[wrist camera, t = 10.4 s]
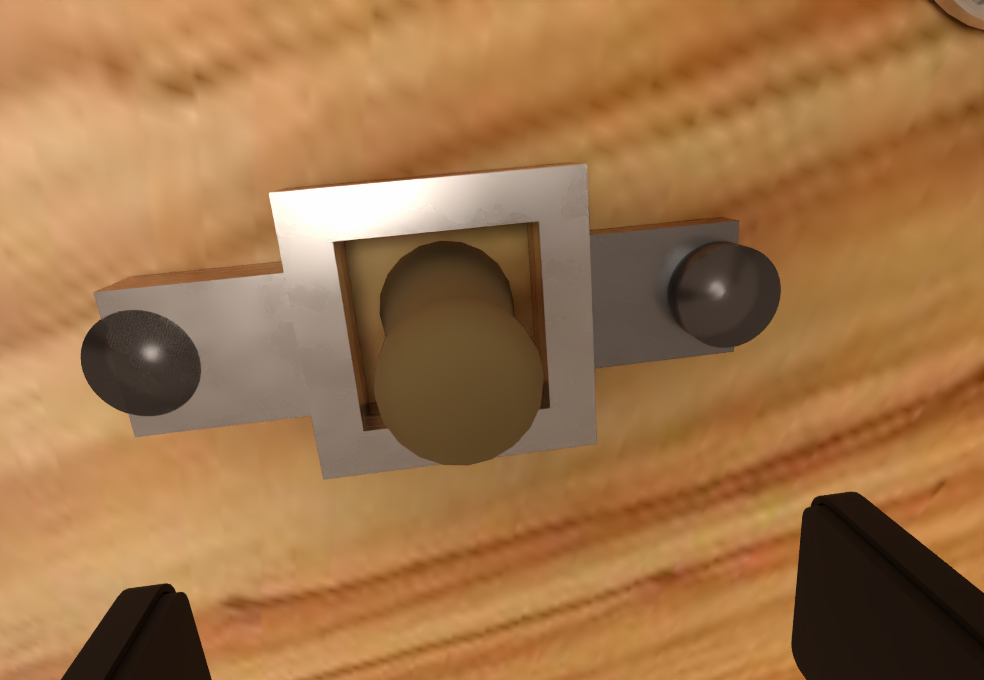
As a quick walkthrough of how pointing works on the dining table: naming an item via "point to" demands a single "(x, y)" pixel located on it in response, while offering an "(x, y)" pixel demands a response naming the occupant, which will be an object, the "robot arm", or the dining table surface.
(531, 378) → the cork
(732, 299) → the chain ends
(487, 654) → the dining table surface
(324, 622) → the dining table surface
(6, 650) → the dining table surface
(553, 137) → the dining table surface
